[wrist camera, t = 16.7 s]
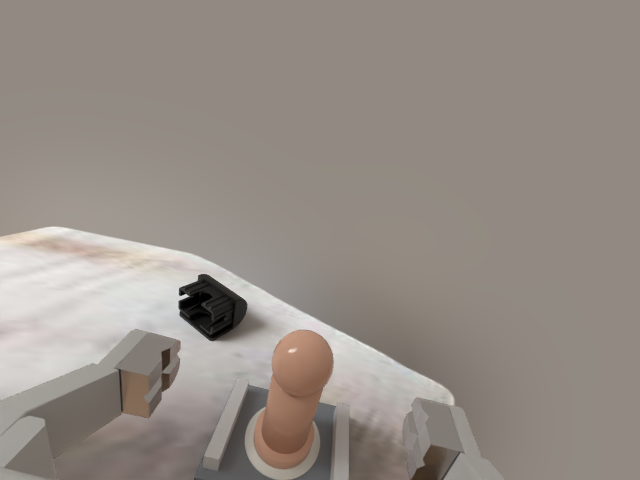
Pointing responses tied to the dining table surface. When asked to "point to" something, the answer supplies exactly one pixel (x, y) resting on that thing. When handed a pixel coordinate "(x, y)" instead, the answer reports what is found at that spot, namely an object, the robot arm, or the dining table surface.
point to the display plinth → (239, 452)
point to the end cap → (211, 307)
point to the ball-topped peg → (293, 399)
